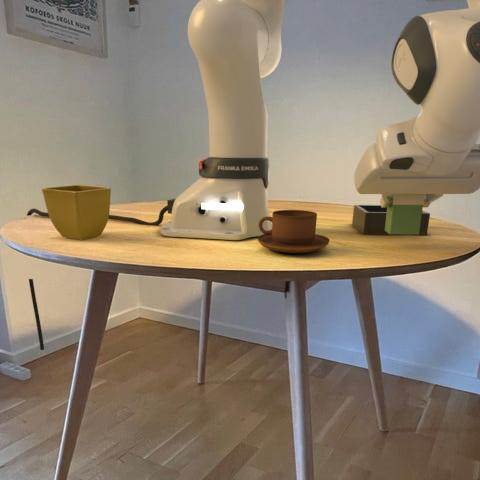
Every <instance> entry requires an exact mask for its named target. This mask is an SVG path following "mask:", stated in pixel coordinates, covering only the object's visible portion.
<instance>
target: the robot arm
mask: <svg viewBox="0 0 480 480" xmlns="http://www.w3.org/2000/svg"><path fill="white" fill-rule="evenodd" d="M466 2H467V5H468V8H460V9H448V10H440V11H434V12H428V13H424V14H420V15H415V16H413V17H411V18H410V20H409V21H408V22H407V23H406V24H405V25H404V27H403V28H402V30H401V31H400V33H399V35H398V38H397V39H396V42H395V44H394V48H393V51H392V55H391V65H390V67H391V73H392V76H393V78H394V80H395V83H396V84H397V85H398V87H399V88H400V89H401V90H402V92H403V93H404V94H405V95H406V96H407V97H408V98H409V99H410V101H412V103H414V104H415V105H416V106H420V111H419V113H418V115H417V116H413V117H412V118H410V119H407V120H403V121H400V122H395V123H392V124H388V125H384V126H381V127H379V128H377V130H376V132H375V133H374V143H371V144H370V145H369V146H368V147H367V148H366V149H365V150H364V152H363V154H362V156H361V158H360V159H359V161H358V163H357V166H356V168H355V170H354V173H353V182H354V187H355V189H356V192H357V193H358V194H359V195H381V197H380V201H379V203H380V205H381V207H382V208H385V207H391V205H392V203H393V200H392V194H425V198H424V205H423V208H429V206H430V205H431V204H432V203H433V202H435V201H437V200H438V199H440V198H442V197H443V196H444V195H471V194H474V193H475V192H477V191H479V189H480V143H477V142H478V141H479V138H480V0H466ZM284 3H285V0H199V1H198V2H197V4H196V5H195V6H194V7H193V9H192V11H191V13H190V15H189V18H188V21H187V22H188V23H187V39H188V42H189V46H190V48H191V50H192V52H193V54H194V57H195V58H196V61H197V64H198V67H199V68H198V69H199V72H200V77H201V81H202V86H203V92H204V96H205V101H206V107H207V116H208V117H207V118H208V148H209V149H208V153H209V155H208V157H207V158H201V159H200V160H199V161H198V175H199V178H198V179H197V180H196V181H195V182H193V183H192V184H191V185H189V186H188V187H187V188H186V189H185V190H183V192H182V193H180V194H179V195H178V196H177V197H176V198H171V199H167V201H166V202H167V204H166V206H164V207H162V209H160V210H159V214H158V219H157V220H155V221H152V222H149V221H146V220H143V219H139V218H136V217H131V216H130V217H129V216H121V215H114V214H109V218H108V220H112V221H113V220H115V221H120V222H121V221H122V222H130V223H134V224H138V225H141V226H153V227H154V226H156V227H157V226H159V225H161V224H162V223H163V221H164V215H165V214H166V213H167V214H170V215H171V216H170V220H169V221H167V222H165V223H163V224H162V225H161V227H160V230H159V231H160V233H159V234H160V235H162V236H164V237H174V238H190V239H191V238H193V239H207V240H208V239H210V240H226V241H227V240H229V241H241V240H245V239H249V238H254V237H259V236H260V235H263V234H264V233H262V232H261V231H260V229H259V221H260V219H261V218H263V217H266V216H269V217H271V216H270V210H269V202H268V201H269V200H268V187H269V184H270V160H269V158H268V129H269V113H268V109H267V106H266V102H265V98H264V91H263V85H262V79H263V78H265V77H268V76H269V75H271V74H272V73H273V72H274V71H275V70H276V68H277V67H278V65H279V63H280V61H281V57H282V52H283V51H282V50H283V49H282V48H283V47H282V37H281V36H282V28H283V27H282V26H283V25H282V24H283V15H284V5H285V4H284ZM34 213H35V214H36V215H39V216H40V217H45V218H50V217H49V214H48V212H44V211H41V210H39V209H37V208H30V209H29V210H28V211H27V213H26V216H30V217H31V216H32V215H33V214H34ZM262 227H263V229H264V230H266V231H268V230H271V229H272V222H271V221H269V220H266V221H264V222H263V224H262ZM28 283H29V290H30V294H31V302H32V306H33V307H32V308H33V312H34V318H35V323H36V329H37V330H36V331H37V336H38V341H39V349H40V351H44V350H45V345H44V337H43V331H42V325H41V319H40V313H39V307H38V302H37V297H36V291H35V285H34V278H28Z"/></svg>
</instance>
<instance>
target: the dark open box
mask: <svg viewBox="0 0 480 480" xmlns="http://www.w3.org/2000/svg"><path fill="white" fill-rule="evenodd" d="M352 211H353V213H352V222H351V225H352V226H353V227H354V228H356V230H358V232H360V233H361V234H362V235H375V236H377V235H378V236H379V235H381V236H382V235H383V236H412V235H411V234H389V233H387V232H386V231H385V223H386V214H387V207H385V208H382V207H381V204H354V205H353V210H352ZM430 216H431V213H430V212H428V211H425V210H423V209H422V216H421V223H420V230H419V234H418V235H417V236H428V230H429V223H430V218H431V217H430Z"/></svg>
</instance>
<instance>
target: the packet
mask: <svg viewBox="0 0 480 480" xmlns="http://www.w3.org/2000/svg"><path fill="white" fill-rule="evenodd" d="M424 198H425V194H392V200H393V203H392V205H391V207H387V214H386V223H385V231H386V232H387V233H389V234H411V235H410V236H419V235H418V234H419V230H420V223H421V216H422V210H423V208H424V207H423V205H424Z"/></svg>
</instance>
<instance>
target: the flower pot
mask: <svg viewBox="0 0 480 480" xmlns="http://www.w3.org/2000/svg"><path fill="white" fill-rule="evenodd" d="M41 191H42V194H43V199H44V203H45V207H46V210H47V213H48V214H49V217H48V218H49V219H50V220H49V221H50V222H51V223H52V225H53V227H54V228H55V230H56V231H57V232H58V233H59V235H60V236H61V237H62V238H69V239H74V240H79V241H84V240H86V239H91V238H97V237H100V236H101V235H102V234H103V233H104V230H105V228H106V226H107V224H108V221H109V219H108V218H109V215H110V211H111V210H110V209H111V193H112V188H111V187H107V186H106V187H105V186H96V185H85V184H84V185H83V184H72V185H61V186H60V185H59V186H51V187H43V188H41Z"/></svg>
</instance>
